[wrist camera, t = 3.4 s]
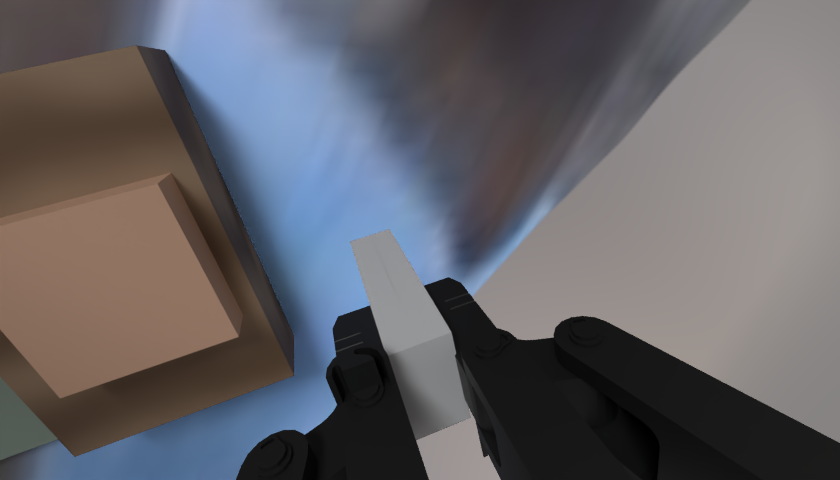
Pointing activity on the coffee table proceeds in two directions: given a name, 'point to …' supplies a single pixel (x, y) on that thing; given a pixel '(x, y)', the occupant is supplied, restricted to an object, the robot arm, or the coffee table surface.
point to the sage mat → (19, 425)
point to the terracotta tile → (111, 285)
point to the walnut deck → (116, 166)
